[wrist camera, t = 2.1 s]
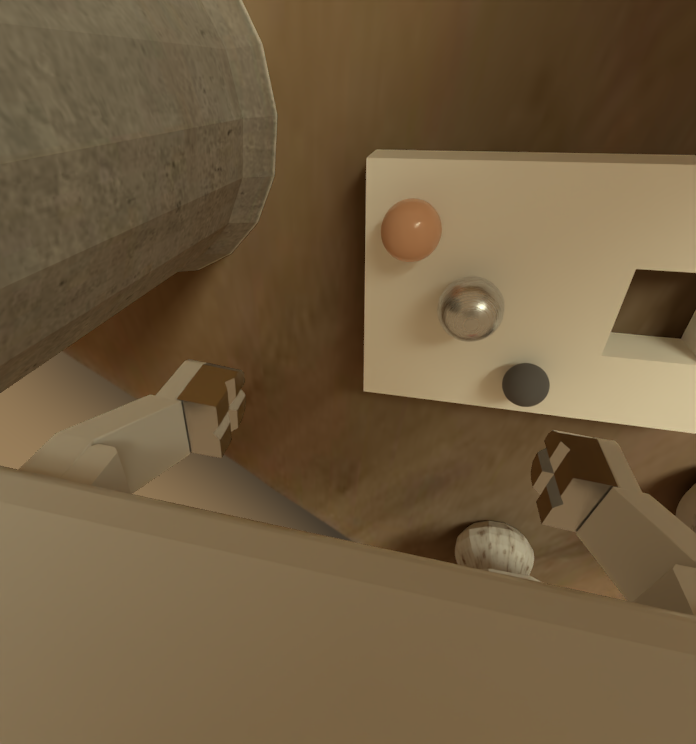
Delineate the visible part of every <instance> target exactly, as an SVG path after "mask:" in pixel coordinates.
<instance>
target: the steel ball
mask: <svg viewBox="0 0 696 744" xmlns="http://www.w3.org/2000/svg"><path fill="white" fill-rule="evenodd" d="M504 311H505V304H504V299H503V296H502V294H501V292H500V290H499V289H498V288H497V287H496V286H495V285H494V284H493V283H492V282H490V281H489V280H487V279H484V278H481V277H476V276H468V277H463V278H460V279H458V280H456V281H454V282H452V283H451V284H450V285H448V286H447V287H446V289H445V290H444V291H443V293H442V294H441V296H440V298H439V301H438V305H437V316H438V320H439V322H440V325H441V326H442V328H443V329H444V331H445V332H446V333H447V334H448V335H450V336H451V337H453V338H455V339H457V340H460V341H464V342H475V341H479V340H482V339H485V338H486V337H488V336H490V335H491V334H492V333H494V332H495V331H496V329H497V328H498V327H499V325H500V324H501V322H502V320H503V316H504Z"/></svg>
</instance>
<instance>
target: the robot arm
mask: <svg viewBox="0 0 696 744" xmlns="http://www.w3.org/2000/svg"><path fill="white" fill-rule="evenodd" d="M244 383H245V378H244V372H243V371H242V370H239V369H234V368H230V367H225V366H220V365H216V364H211V363H205V362H200V361H196V360H191V359H188V360H186V361H184V362H183V363H182V365H181V366H180V367H179V368H178V369H177V370H176V372H175V373H174V374H173V375H172V376H171V378H170V379H169V380H168V381H167V382H166V383H165V385H164V386H163V387H162V388H161V389H160V391H159V392H158V393H157V394H156V395H148V396H145V397H143V398H140V399H138V400H135V401H133V402H131V403H128V404H126V405H123V406H121V407H119V408H116V409H114V410H111V411H109V412H106V413H104V414H102V415H99V416H97V417H94V418H92V419H89V420H87V421H84V422H82V423H79V424H77V425H75V426H72V427H70V428H67V429H65V430H63V431H60V432H58V433H56V434H55V435H54V436H53V437H51V438H50V440H48V441H47V442H46V443H45V444H44V445H43V446H42V447H41V448H40V449H39V450H38V451H37V452H36V453H35V454H34V455H33V456H32V457H31V458H30V459H29V460H28V461H27V462H26V463H25V464H24V465H23V466H22V467H21V468H20V469H19V470H17V469H13V468H8V467H4V466H0V744H696V533H695V532H694V531H692V530H691V529H690V528H689V527H688V526H686V525H685V524H684V523H683V522H682V521H680V520H679V519H678V518H677V517H676V516H675V515H673V514H672V513H671V512H670V511H669V510H667V509H666V508H665V507H664V506H663V505H661V504H660V503H659V502H658V501H657V500H656V499H654V498H653V497H652V496H651V495H650V494H647V493H642V491H641V489H640V487H639V485H638V483H637V481H636V479H635V477H634V475H633V473H632V471H631V468H630V466H629V464H628V462H627V460H626V458H625V456H624V454H623V452H622V450H621V448H620V446H619V445H618V444H617V443H616V442H615V441H613V440H607V439H601V438H595V437H593V438H592V437H587V436H582V435H577V434H571V433H566V432H561V431H555V430H552V431H551V432H550V433H548V435H547V437H546V438H545V440H544V442H545V445H546V448H545V449H543V450H541V451H539V452H537V454H536V456H535V458H534V460H533V462H532V467H531V482H532V486H533V488H534V489H535V490H536V491H537V492H538V494H539V495H540V496H539V498H538V500H537V501H536V503H537V507H538V512H539V516H540V520H541V524H543V525H547V526H551V527H555V528H560V529H564V530H568V531H573V532H577V533H576V535H577V536H578V538H579V539H580V540H581V541H582V543H583V544H584V545H585V547H586V548H587V549H588V551H589V552H590V553H591V554H592V556H593V557H594V558H595V560H596V561H597V562H598V563H599V565H600V566H601V567H602V569H603V570H604V571H605V572H606V574H607V575H608V576H609V578H610V579H611V580H612V582H613V583H614V584H615V585H616V587H617V588H618V589H619V591H620V592H621V593H622V594H623V596H624V597H625V598H626V600H627V601H625V600H621V599H616V598H611V597H607V596H602V595H597V594H593V593H588V592H584V591H579V590H574V589H570V588H565V587H560V586H556V585H551V584H547V583H542V582H537V581H533V580H528V579H523V578H519V577H514V576H509V575H505V574H500V573H495V572H491V571H486V570H482V569H477V568H472V567H468V566H463V565H458V564H454V563H449V562H444V561H440V560H435V559H430V558H426V557H421V556H417V555H412V554H407V553H403V552H398V551H393V550H389V549H384V548H379V547H375V546H370V545H366V544H361V543H356V542H352V541H347V540H342V539H338V538H333V537H329V536H324V535H319V534H315V533H310V532H305V531H300V530H296V529H291V528H287V527H282V526H278V525H273V524H268V523H264V522H259V521H254V520H250V519H245V518H240V517H235V516H231V515H226V514H222V513H217V512H213V511H208V510H203V509H198V508H194V507H189V506H185V505H180V504H175V503H171V502H166V501H162V500H156V499H152V498H147V497H143V496H138V495H133V494H132V493H134V492H135V491H137V490H138V489H140V488H141V487H143V486H144V485H146V484H147V483H149V482H150V481H152V480H153V479H155V478H156V477H157V476H159V475H160V474H162V473H163V472H165V471H166V470H168V469H169V468H171V467H172V466H174V465H175V464H177V463H178V462H179V461H181V460H183V459H184V458H185V457H187V456H188V455H190V453H196V454H202V455H207V456H213V457H218V458H222V457H223V455H224V453H225V451H226V449H227V447H228V446H229V444H230V442H231V440H232V438H231V431H233V430H235V429H237V428H238V427H239V425H240V423H241V421H242V418H243V415H244V412H245V405H246V395H245V394H244V392H243V391H242V390H241V388H242V387H243V385H244Z"/></svg>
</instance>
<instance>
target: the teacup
mask: <svg viewBox="0 0 696 744" xmlns="http://www.w3.org/2000/svg"><path fill="white" fill-rule="evenodd" d="M676 517H677V518H678V519H679V520H680V521H682V522H683V523H684V524H685V525H686V526H688V527H689V528H690V529H691V530H692V531H694V532H695V533H696V483H695V484H694V485H693V486H692V487H691V488H690V489H689V490H688V491H687V492H686V493H685V494H684V496H683V497H682V499H681V500H680V502H679V504H678V506H677V510H676Z"/></svg>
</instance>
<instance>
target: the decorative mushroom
mask: <svg viewBox="0 0 696 744" xmlns="http://www.w3.org/2000/svg"><path fill="white" fill-rule="evenodd" d="M455 558H456V561H457V564H458V565H463V566H468V567H472V568H477V569H482V570H486V571H491V572H495V573H500V574H505V575H509V576H514V577H519V578H523V579H528V580H533V581H537V582H541V581H539V580H537V579H535V578H533V577H531V576H529V574H530V572H531V569H532V567H533V562H534V553H533V550H532V548H531V546H530V544H529V543H528V541H527V539H526V538H525V537H524V536H523V535H522V534H521V533H520V532H519V531H518V530H517V529H515V528H513V527H511V526H509V525H508V524H506V523H501V522H495V521H483V522H477V523H473V524H472V525H470V526H469V527H467V528H466V529H465V530H464V531H463V532H462V533H461V534H460V535H459V536H458V537H457V541H456V546H455Z"/></svg>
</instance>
